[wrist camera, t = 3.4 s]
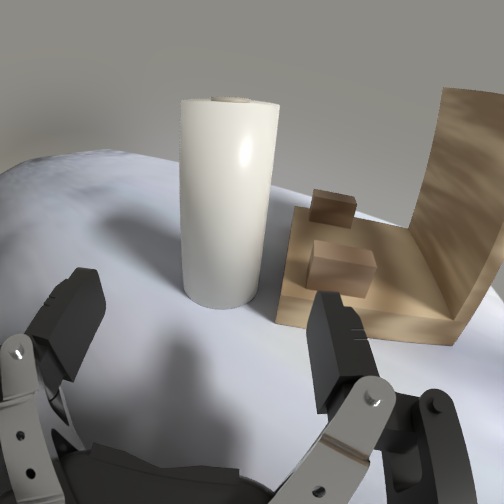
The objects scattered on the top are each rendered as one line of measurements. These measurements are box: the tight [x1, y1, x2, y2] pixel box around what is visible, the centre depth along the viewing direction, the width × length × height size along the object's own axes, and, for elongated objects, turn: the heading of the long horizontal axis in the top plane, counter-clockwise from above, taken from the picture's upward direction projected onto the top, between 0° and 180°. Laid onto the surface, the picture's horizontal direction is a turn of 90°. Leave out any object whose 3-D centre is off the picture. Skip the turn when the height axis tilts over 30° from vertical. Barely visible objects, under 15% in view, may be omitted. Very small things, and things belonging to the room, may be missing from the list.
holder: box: [275, 87, 504, 346], centre depth 19 cm, size 14×14×18 cm
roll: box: [180, 97, 280, 309], centre depth 19 cm, size 6×6×13 cm
